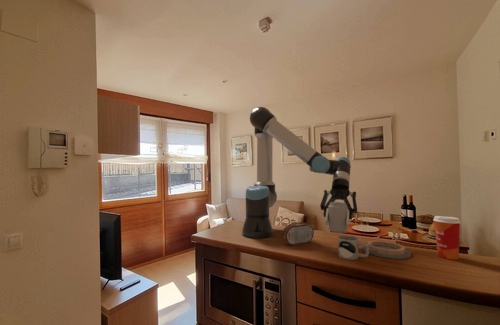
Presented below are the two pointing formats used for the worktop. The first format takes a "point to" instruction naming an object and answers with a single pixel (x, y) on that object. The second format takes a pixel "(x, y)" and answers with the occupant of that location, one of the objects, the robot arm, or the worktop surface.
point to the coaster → (407, 255)
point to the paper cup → (447, 236)
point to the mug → (350, 248)
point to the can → (337, 217)
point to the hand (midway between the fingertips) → (336, 224)
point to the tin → (298, 233)
